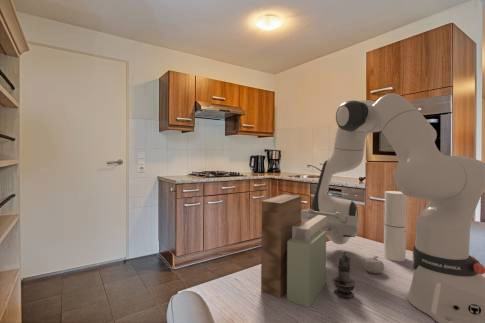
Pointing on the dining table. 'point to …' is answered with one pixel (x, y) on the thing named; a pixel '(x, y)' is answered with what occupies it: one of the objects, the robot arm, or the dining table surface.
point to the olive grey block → (306, 268)
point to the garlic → (373, 265)
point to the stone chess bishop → (344, 279)
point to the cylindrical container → (395, 226)
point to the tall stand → (277, 240)
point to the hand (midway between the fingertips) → (323, 212)
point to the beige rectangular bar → (309, 228)
